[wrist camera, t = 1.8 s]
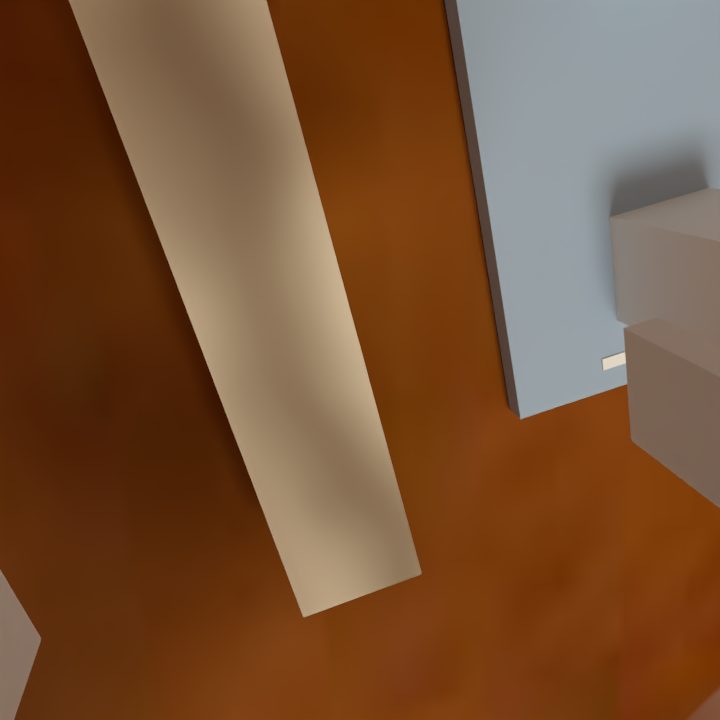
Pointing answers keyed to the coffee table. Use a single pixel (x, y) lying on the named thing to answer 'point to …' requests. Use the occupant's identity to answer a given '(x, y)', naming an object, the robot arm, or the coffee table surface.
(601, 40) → the blueprint board
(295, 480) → the maple beam
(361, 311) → the coffee table surface
